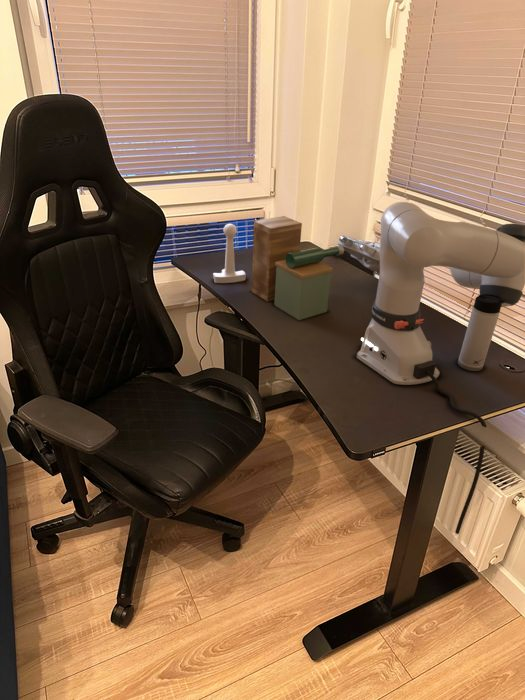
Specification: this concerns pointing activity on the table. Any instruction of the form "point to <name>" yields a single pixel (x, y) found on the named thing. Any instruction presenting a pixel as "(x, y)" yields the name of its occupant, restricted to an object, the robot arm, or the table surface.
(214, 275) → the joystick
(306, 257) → the bottle
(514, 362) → the table surface
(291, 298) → the block
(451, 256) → the robot arm
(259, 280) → the shelf
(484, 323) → the travel mug
